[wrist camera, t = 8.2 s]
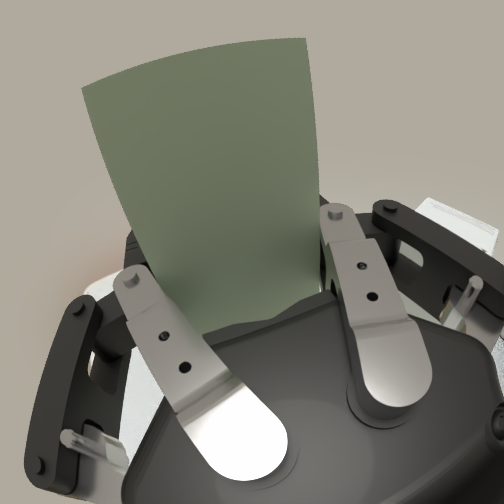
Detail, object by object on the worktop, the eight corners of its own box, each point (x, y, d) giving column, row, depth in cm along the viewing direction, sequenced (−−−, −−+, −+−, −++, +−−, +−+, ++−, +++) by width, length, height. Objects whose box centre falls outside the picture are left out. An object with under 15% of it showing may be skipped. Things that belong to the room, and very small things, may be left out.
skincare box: (452, 334, 25) (505, 230, 16) (429, 370, 23) (494, 266, 13) (400, 299, 31) (429, 192, 21) (373, 329, 28) (402, 216, 19)
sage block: (280, 299, 17) (244, 52, 9) (315, 362, 14) (305, 38, 5) (205, 325, 17) (116, 84, 8) (225, 395, 13) (81, 88, 4)
